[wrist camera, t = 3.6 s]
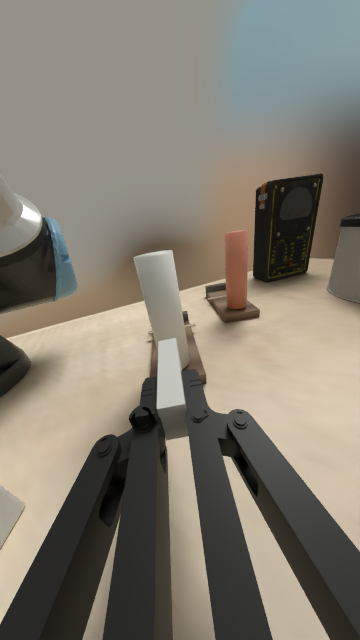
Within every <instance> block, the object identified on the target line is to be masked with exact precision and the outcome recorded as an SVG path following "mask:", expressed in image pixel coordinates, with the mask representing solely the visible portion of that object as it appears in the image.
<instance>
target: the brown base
mask: <svg viewBox="0 0 360 640" xmlns="http://www.w3.org/2000/svg"><path fill="white" fill-rule="evenodd" d="M205 287H206V297H207V298H208V299H207V300H209V301H210V302H211V304H212V305H213V306H214V308H215V309H216V311H217V312H218V313H219V315H220V316H221V318H222V319H223V320H224V322H225V323H227V322H232V321H238V320H243V319H249V318H254V317H259V313H260V310H259V309H258V308H257V307H255V306H254V305H253V304H252V303H250V302H249V301H248V300H247V306H246V307H244V308H241V309H231V308H228V307H227V300H226V283H221V284H215V285H210V286H205Z"/></svg>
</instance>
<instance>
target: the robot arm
mask: <svg viewBox="0 0 360 640" xmlns="http://www.w3.org/2000/svg"><path fill="white" fill-rule="evenodd" d="M76 289H77V282H76V278H75V274H74V271H73V267H72V264H71V261H70V258H69V254H68V251H67V247H66V244H65V241H64V238H63V235H62V232H61V230H60V227H59V224H58V222H57V221H56V220H55V219H53V218H47V217H44V218H42V216H41V214H40V212H39V211H38V209H37V208H36V207H35V205H34V204H33V203H31V202H30V201H29V200H27V199H25V198H24V197H22V196H20V195H17V194H15V193H13V192H12V191H11V189H10V187H9V186H8V184H7V182H6V181H5V179H4V177H3V175H2V174H1V172H0V314H3V313H7V312H11V311H15V310H19V309H23V308H27V307H31V306H35V305H39V304H43V303H47V302H51V301H56V300H58V299H60V298H63V297H66V296H69V295H72V294H73V293H75V291H76ZM30 365H31V361H30V359H29V358H28V356H27V355H26V354H25V352H24V351H23V350H22V349H20V348H19V347H17V346H16V345H14V344H13V343H11V342H10V341H8V340H7V339H5V338H4V337H2V336H1V335H0V396H1V395H2V394H4V393H5V392H6V391H8V390H9V389H10V388H11V387H13V386H14V385H15V384H16V383H17V382H18V381H19V380H20V379H21V378H22V377H23V376H24V375H25V374H26V373H27V371H28V370H29V368H30ZM129 420H130V423H131V425H132V427H133V428H132V429H130V430H129V431H128V432H126V433H124V434H122V435H120V436H118V437H116V436H115V435H112V434H111V435H106V436H104V437H102V438H101V439H99V440H98V441H97V442H96V444H95V445H94V447H93V448H92V450H91V452H90V454H89V456H88V458H87V460H86V462H85V463H84V465H83V467H82V469H81V471H80V473H79V475H78V477H77V479H76V481H75V483H74V484H73V486H72V488H71V490H70V492H69V494H68V496H67V498H66V500H65V502H64V504H63V505H62V507H61V509H60V511H59V513H58V515H57V517H56V519H55V521H54V523H53V525H52V526H51V528H50V530H49V532H48V534H47V536H46V538H45V540H44V542H43V544H42V546H41V547H40V549H39V551H38V553H37V555H36V557H35V559H34V561H33V563H32V565H31V567H30V568H29V570H28V572H27V574H26V576H25V578H24V580H23V582H22V584H21V586H20V588H19V590H18V591H17V593H16V595H15V597H14V599H13V601H12V603H11V605H10V607H9V609H8V611H7V612H6V614H5V616H4V618H3V620H2V622H1V624H0V640H82V639H83V635H84V632H85V629H86V626H87V622H88V619H89V616H90V612H91V609H92V606H93V603H94V599H95V596H96V593H97V590H98V586H99V583H100V580H101V576H102V573H103V570H104V567H105V563H106V560H107V557H108V553H109V550H110V547H111V544H112V540H113V537H114V534H115V531H116V527H117V524H118V521H119V517H120V523H119V530H118V537H117V544H116V550H115V557H114V564H113V571H112V578H111V585H110V592H109V599H108V606H107V613H106V620H105V627H104V633H103V640H173V635H172V600H171V566H170V531H169V496H168V462H167V448H166V445H165V437H166V440H170V439H175V438H181V437H186V436H189V442H190V450H191V458H192V465H193V473H194V480H195V488H196V495H197V503H198V510H199V518H200V525H201V533H202V540H203V548H204V555H205V563H206V571H207V578H208V586H209V593H210V601H211V608H212V616H213V623H214V631H215V638H216V640H273V639H272V636H271V632H270V628H269V625H268V621H267V617H266V614H265V610H264V606H263V603H262V599H261V595H260V592H259V588H258V584H257V581H256V577H255V573H254V570H253V566H252V562H251V559H250V555H249V551H248V548H247V544H246V541H245V537H244V533H243V530H242V526H241V522H240V519H239V515H238V511H237V508H236V504H235V500H234V497H233V493H232V489H231V486H230V482H229V478H228V475H227V471H226V467H225V464H224V460H223V457H222V455H223V456H228V457H231V458H232V460H233V462H234V464H235V466H236V468H237V469H238V471H239V473H240V475H241V477H242V479H243V480H244V482H245V484H246V486H247V488H248V490H249V491H250V493H251V495H252V497H253V499H254V501H255V502H256V504H257V506H258V508H259V510H260V512H261V513H262V515H263V517H264V519H265V521H266V523H267V524H268V526H269V528H270V530H271V532H272V534H273V535H274V537H275V539H276V541H277V543H278V545H279V546H280V548H281V550H282V552H283V554H284V556H285V557H286V559H287V561H288V563H289V565H290V567H291V568H292V570H293V572H294V574H295V576H296V578H297V579H298V581H299V583H300V585H301V587H302V589H303V590H304V592H305V594H306V596H307V598H308V600H309V601H310V603H311V605H312V607H313V609H314V611H315V612H316V614H317V616H318V618H319V620H320V622H321V623H322V625H323V627H324V629H325V631H326V633H327V634H328V636H329V638H330V640H360V552H359V550H358V549H357V548H356V547H355V545H354V544H353V543H352V541H351V540H350V539H349V538H348V536H347V535H346V534H345V533H344V531H343V530H342V529H341V528H340V526H339V525H338V524H337V523H336V521H335V520H334V519H333V518H332V516H331V515H330V514H329V513H328V511H327V510H326V509H325V508H324V506H323V505H322V504H321V503H320V501H319V500H318V499H317V498H316V496H315V495H314V494H313V493H312V491H311V490H310V489H309V487H308V486H307V485H306V484H305V482H304V481H303V480H302V479H301V477H300V476H299V475H298V474H297V472H296V471H295V470H294V469H293V467H292V466H291V465H290V464H289V462H288V461H287V460H286V459H285V457H284V456H283V455H282V454H281V452H280V451H279V450H278V449H277V447H276V446H275V445H274V444H273V442H272V441H271V440H270V439H269V437H268V436H267V435H266V434H265V432H264V431H263V430H262V428H261V427H260V426H259V425H258V423H257V422H256V421H255V420H254V418H253V417H252V416H251V415H250V414H249V413H248V412H246V411H244V410H240V409H235V410H232V411H231V412H229V414H221V413H217V412H214V411H213V410H211V409H210V408H209V406H208V404H207V401H206V398H205V394H204V390H203V387H202V383H201V380H200V376H199V373H198V372H197V371H196V369H189V370H184V371H182V368H181V361H180V356H179V351H178V346H177V341H176V338H172V339H167V340H162V341H158V376H155V377H150V378H146V379H145V381H144V383H143V384H142V392H141V400H140V406H138V407H137V408H135V409H134V410H133V411H132V413H131V414H130V416H129ZM120 514H121V516H120Z"/></svg>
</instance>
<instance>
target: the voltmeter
mask: <svg viewBox="0 0 360 640" xmlns="http://www.w3.org/2000/svg"><path fill="white" fill-rule="evenodd" d="M322 182H323V174H316V175H309V176H302V177H295V178H287V179H280V180H273V181H269V182H266V183H264V184H263V185H262V186H261V187H259V188H257V190H256V208H255V235H254V263H253V277H255V278H258V279H262V280H263V281H264V282H269V281H273V280H277V279H281V278H285V277H290V276H294V275H298V274H302V273H306V272H307V269H308V264H309V258H310V252H311V246H312V240H313V235H314V229H315V223H316V216H317V211H318V206H319V200H320V194H321V188H322Z"/></svg>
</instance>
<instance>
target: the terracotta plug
mask: <svg viewBox="0 0 360 640" xmlns="http://www.w3.org/2000/svg"><path fill="white" fill-rule="evenodd" d="M224 243H225V270H226V300H227V307H228V308H231V309H241V308H244V307H246V306H247V260H248V230H240V231H234V232H228V233H225V234H224Z"/></svg>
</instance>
